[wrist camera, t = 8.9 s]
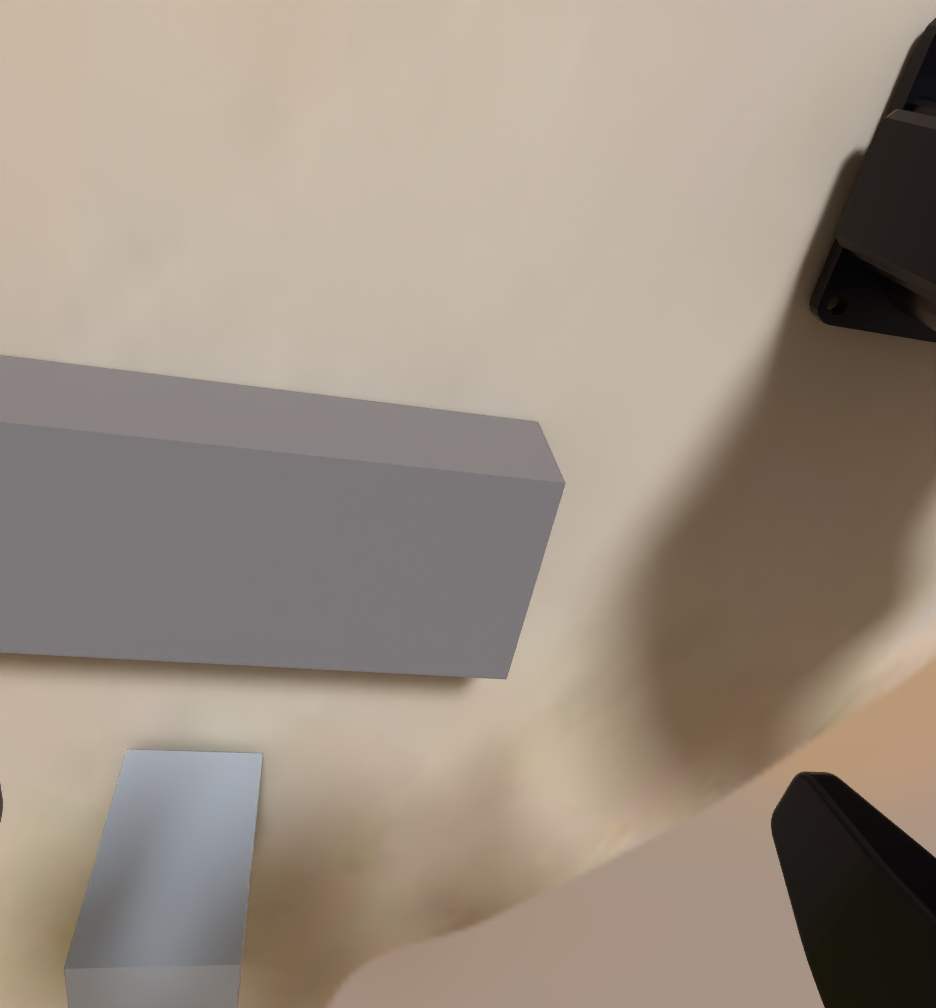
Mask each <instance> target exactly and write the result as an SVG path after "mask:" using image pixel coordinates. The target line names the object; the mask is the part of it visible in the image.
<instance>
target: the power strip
mask: <svg viewBox="0 0 936 1008" xmlns="http://www.w3.org/2000/svg"><path fill="white" fill-rule="evenodd" d="M564 486H565V481H564V479H563V476H562V474H561V472H560V470H559V467H558V465H557V463H556V461H555V458H554V456H553V454H552V452H551V449H550V447H549V445H548V443H547V440H546V438H545V436H544V434H543V432H542V429H541V427H540V425H539V423H538V422H534V421H526V420H518V419H510V418H502V417H494V416H486V415H478V414H470V413H462V412H454V411H445V410H437V409H429V408H421V407H413V406H405V405H397V404H389V403H381V402H373V401H365V400H357V399H349V398H341V397H333V396H325V395H317V394H308V393H300V392H292V391H284V390H276V389H268V388H260V387H252V386H244V385H236V384H228V383H220V382H212V381H204V380H196V379H188V378H180V377H172V376H163V375H155V374H147V373H139V372H131V371H123V370H115V369H107V368H99V367H91V366H83V365H75V364H67V363H59V362H51V361H43V360H35V359H26V358H18V357H10V356H2V355H0V653H16V654H35V655H54V656H73V657H92V658H111V659H130V660H149V661H168V662H187V663H206V664H225V665H244V666H263V667H282V668H301V669H320V670H339V671H358V672H377V673H396V674H415V675H434V676H453V677H472V678H491V679H507V676H508V672H509V669H510V666H511V662H512V659H513V656H514V652H515V649H516V646H517V642H518V639H519V636H520V632H521V629H522V626H523V622H524V619H525V616H526V612H527V609H528V606H529V602H530V599H531V596H532V592H533V589H534V586H535V582H536V579H537V576H538V572H539V569H540V566H541V562H542V559H543V556H544V553H545V549H546V546H547V543H548V539H549V536H550V533H551V529H552V526H553V523H554V519H555V516H556V513H557V509H558V506H559V503H560V499H561V496H562V493H563V489H564Z"/></svg>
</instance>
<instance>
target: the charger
mask: <svg viewBox="0 0 936 1008" xmlns="http://www.w3.org/2000/svg"><path fill="white" fill-rule="evenodd" d="M262 759H263V753H232V752H199V751H166V750H133V749H127V750H126V754H125V757H124V761H123V764H122V768H121V771H120V775H119V778H118V782H117V785H116V789H115V792H114V796H113V799H112V803H111V806H110V810H109V813H108V817H107V820H106V824H105V827H104V831H103V834H102V838H101V841H100V845H99V848H98V852H97V855H96V859H95V862H94V866H93V869H92V873H91V876H90V880H89V883H88V887H87V890H86V894H85V897H84V901H83V904H82V908H81V911H80V915H79V918H78V922H77V925H76V929H75V932H74V936H73V939H72V943H71V946H70V950H69V953H68V957H67V960H66V964H65V967H64V973H65V981H66V990H67V999H68V1008H237V1006H238V996H239V987H240V977H241V968H242V958H243V949H244V939H245V930H246V920H247V911H248V901H249V892H250V882H251V873H252V863H253V854H254V843H255V833H256V822H257V812H258V801H259V790H260V780H261V769H262Z"/></svg>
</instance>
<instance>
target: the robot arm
mask: <svg viewBox="0 0 936 1008" xmlns="http://www.w3.org/2000/svg"><path fill="white" fill-rule="evenodd" d="M836 295H840V298H839V302H838V303H837V304H836V306H835V307H833V308H831V309H827V308H828V303H829V302H830V300H831V299H832V298H833V297H835V296H836ZM809 305H810V311H811V312H812V314H813V315H814V316H815V317H816V318H817V319H819V320H820V321H822V322H823V323H826V324H828V325H833V326H839V327H845V328H851V329H857V330H863V331H869V332H875V333H881V334H888V335H894V336H900V337H906V338H912V339H918V340H924V341H930V342H936V18H935V19H934V20H933V21H932V22H931V23H930V24H929V25H928V26H927V28H926V29H925V31H924V33H923V34H922V36H921V39H920V41H919V43H918V46H917V48H916V50H915V53H914V55H913V57H912V60H911V62H910V65H909V67H908V69H907V72H906V74H905V76H904V79H903V81H902V83H901V86H900V88H899V90H898V93H897V95H896V98H895V100H894V102H893V105H892V107H891V109H890V112H889V114H888V116H887V117H885V118H884V119H883V120H882V122H881V125H880V127H879V129H878V132H877V134H876V136H875V139H874V141H873V143H872V146H871V148H870V151H869V153H868V155H867V158H866V160H865V162H864V165H863V167H862V170H861V172H860V174H859V177H858V179H857V181H856V184H855V186H854V189H853V191H852V193H851V196H850V198H849V200H848V203H847V205H846V207H845V210H844V212H843V215H842V217H841V219H840V222H839V224H838V226H837V229H836V239H835V241H834V244H833V246H832V248H831V251H830V253H829V256H828V258H827V260H826V263H825V265H824V267H823V270H822V272H821V274H820V277H819V279H818V281H817V284H816V286H815V289H814V291H813V293H812V296H811V299H810V304H809ZM2 810H3V798H2V792H1V785H0V822H1V817H2ZM771 829H772V836H773V839H774V843H775V847H776V851H777V854H778V858H779V861H780V865H781V868H782V872H783V876H784V879H785V883H786V887H787V891H788V894H789V897H790V901H791V905H792V909H793V912H794V916H795V919H796V923H797V927H798V930H799V934H800V937H801V941H802V944H803V947H804V951H805V954H806V957H807V961H808V963H809V966H810V969H811V972H812V975H813V977H814V980H815V983H816V986H817V989H818V991H819V994H820V996H821V999H822V1002H823V1004H824V1007H825V1008H936V858H935V857H934V856H933V855H932V854H930V853H929V852H928V851H927V850H926V849H924V848H923V847H922V846H921V845H920V844H918V843H917V842H916V841H915V840H913V839H912V838H911V837H910V836H909V835H907V834H906V833H905V832H904V831H903V830H901V829H900V828H899V827H898V826H897V825H895V824H894V823H893V822H892V821H891V820H889V819H888V818H887V817H886V816H884V815H883V814H882V813H881V812H879V811H878V810H877V809H876V808H875V807H874V806H872V805H871V804H870V803H869V802H867V801H866V800H865V799H864V798H863V797H861V796H860V795H859V794H858V793H856V792H855V791H854V790H853V789H852V788H850V787H849V786H848V785H847V784H846V783H844V782H843V781H842V780H841V779H840V778H838V777H837V776H835V775H833V774H830V773H826V772H801V773H799V774H797V775H796V776H795V777H794V778H793V780H792V782H791V783H790V785H789V787H788V788H787V790H786V791H785V794H784V795H783V796H782V798H781V800H780V802H779V803H778V805H777V806H776V808H775V810H774V812H773V814H772V818H771Z"/></svg>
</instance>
